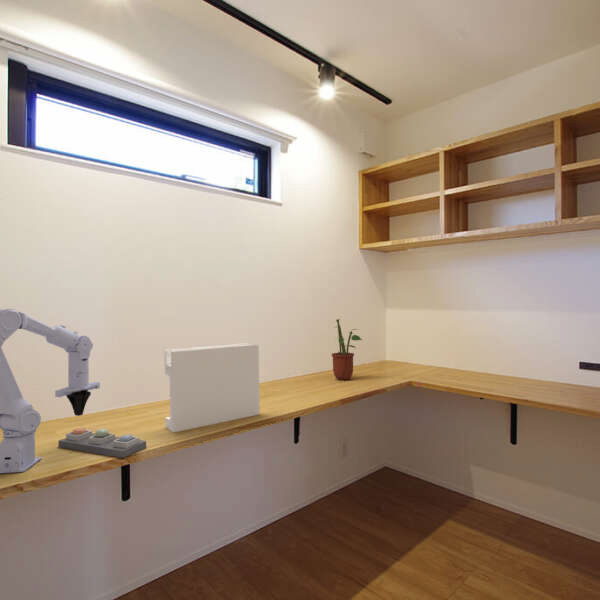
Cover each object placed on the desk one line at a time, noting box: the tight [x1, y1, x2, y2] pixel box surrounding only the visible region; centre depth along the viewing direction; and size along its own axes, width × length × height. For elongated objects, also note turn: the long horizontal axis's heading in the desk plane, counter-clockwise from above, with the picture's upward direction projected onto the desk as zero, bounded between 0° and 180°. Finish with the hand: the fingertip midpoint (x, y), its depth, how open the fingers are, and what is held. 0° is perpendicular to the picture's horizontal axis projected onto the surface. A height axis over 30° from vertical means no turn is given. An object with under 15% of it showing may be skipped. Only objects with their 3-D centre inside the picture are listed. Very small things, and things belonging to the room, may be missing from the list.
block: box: [164, 343, 261, 433], centre depth 151 cm, size 35×8×28 cm, turn 127°
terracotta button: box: [72, 427, 86, 435], centre depth 127 cm, size 4×4×2 cm
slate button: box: [119, 433, 134, 442], centre depth 120 cm, size 4×4×2 cm
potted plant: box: [331, 318, 363, 381], centre depth 232 cm, size 17×16×35 cm
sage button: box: [94, 427, 109, 437], centre depth 124 cm, size 4×4×2 cm
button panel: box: [57, 429, 147, 459], centre depth 124 cm, size 27×9×4 cm, turn 68°
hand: (78, 415), depth 127 cm, fingers closed
